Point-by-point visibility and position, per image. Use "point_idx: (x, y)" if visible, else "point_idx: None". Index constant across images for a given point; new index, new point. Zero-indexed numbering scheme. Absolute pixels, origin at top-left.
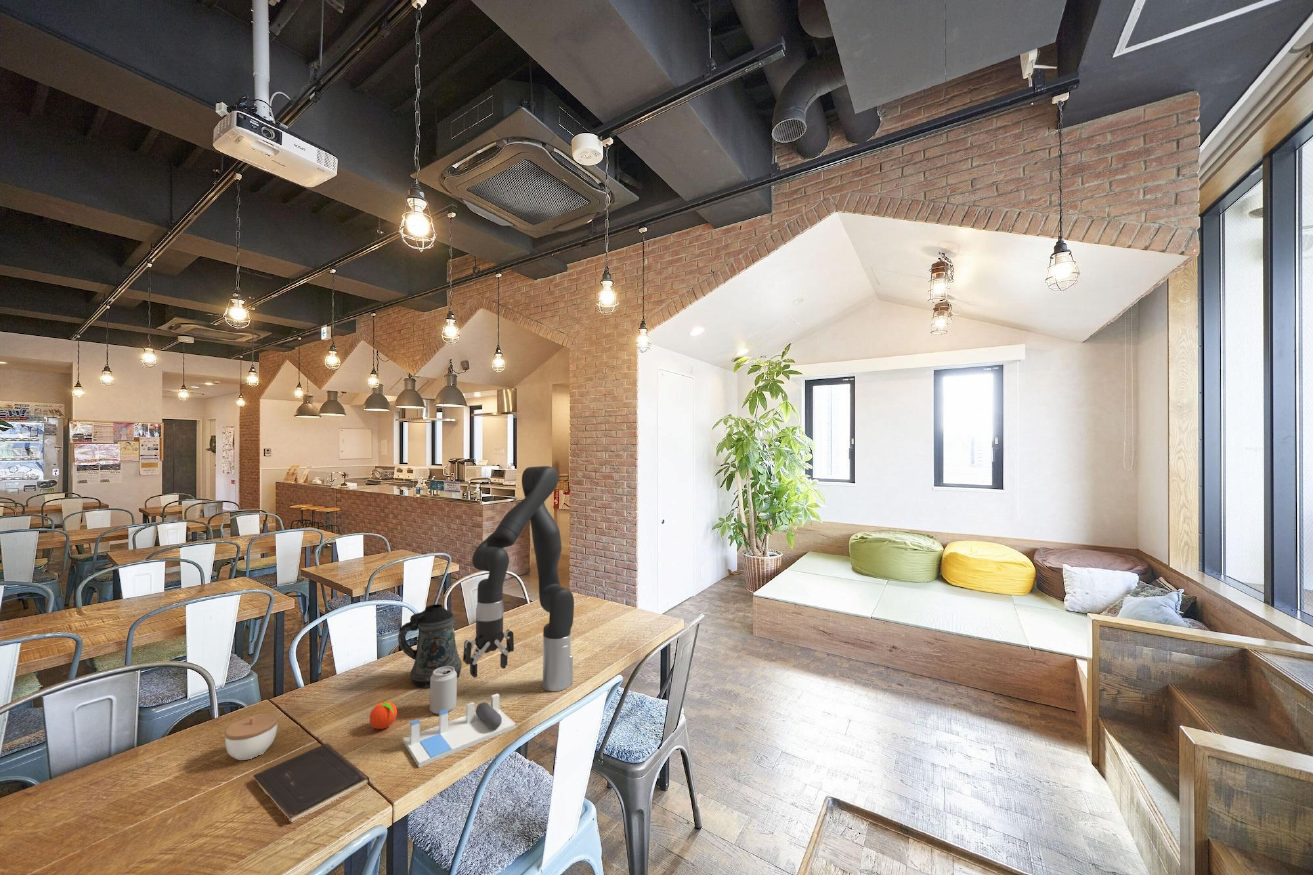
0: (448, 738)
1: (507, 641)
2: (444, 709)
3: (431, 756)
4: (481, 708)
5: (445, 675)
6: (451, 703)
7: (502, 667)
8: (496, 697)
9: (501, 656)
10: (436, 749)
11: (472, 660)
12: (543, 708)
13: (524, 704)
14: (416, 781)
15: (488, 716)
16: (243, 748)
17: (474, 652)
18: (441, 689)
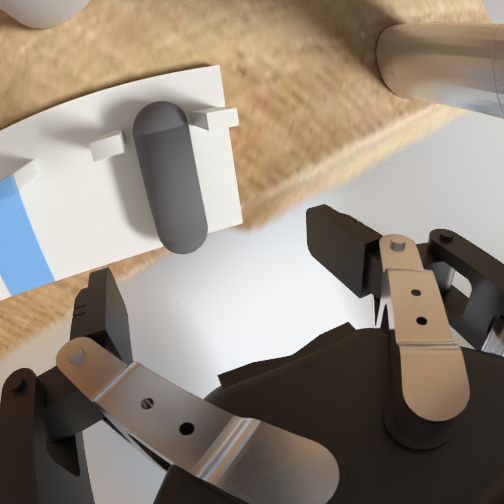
0: (41, 220)
1: (476, 294)
2: (45, 25)
3: (12, 294)
4: (150, 161)
5: None
6: (68, 11)
7: (309, 239)
8: (223, 127)
9: (354, 255)
10: (17, 268)
11: (95, 416)
12: (336, 154)
13: (304, 97)
14: (5, 337)
15: (165, 231)
16: None
17: (110, 417)
18: (8, 6)
